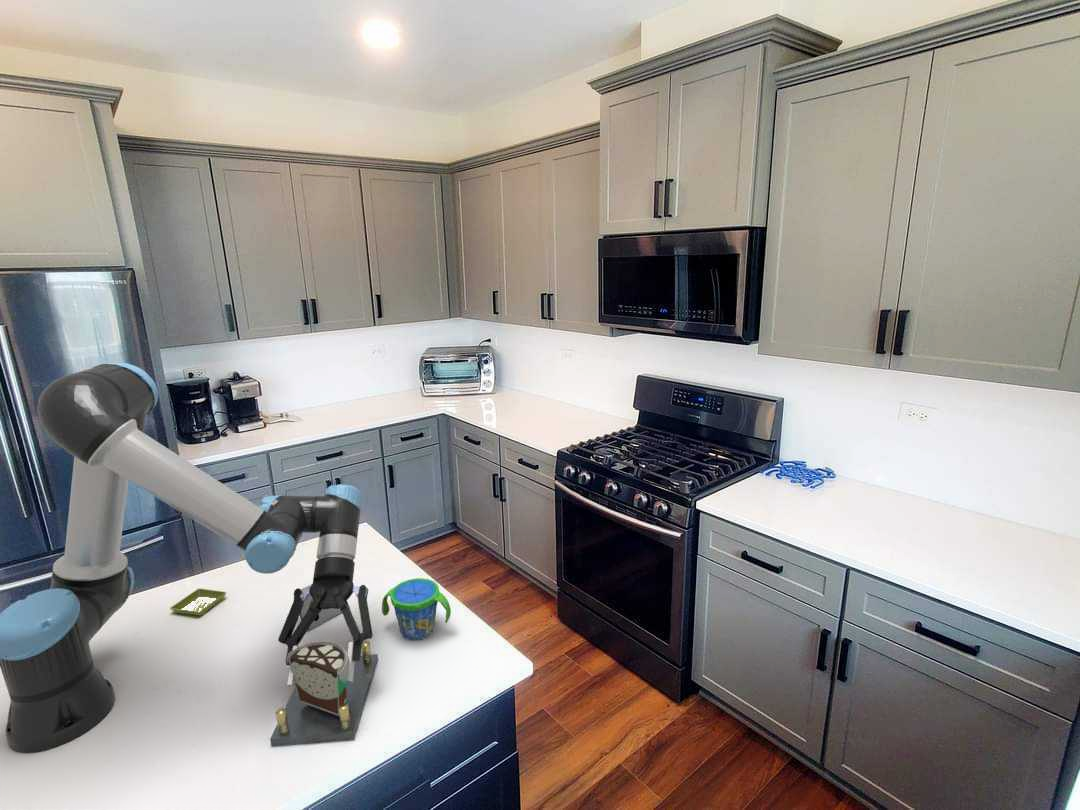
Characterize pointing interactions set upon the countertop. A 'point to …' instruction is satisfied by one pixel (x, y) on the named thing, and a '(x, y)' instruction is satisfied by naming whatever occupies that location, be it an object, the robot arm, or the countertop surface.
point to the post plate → (321, 726)
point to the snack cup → (416, 606)
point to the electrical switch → (322, 616)
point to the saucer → (194, 596)
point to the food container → (320, 674)
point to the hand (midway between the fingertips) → (320, 683)
